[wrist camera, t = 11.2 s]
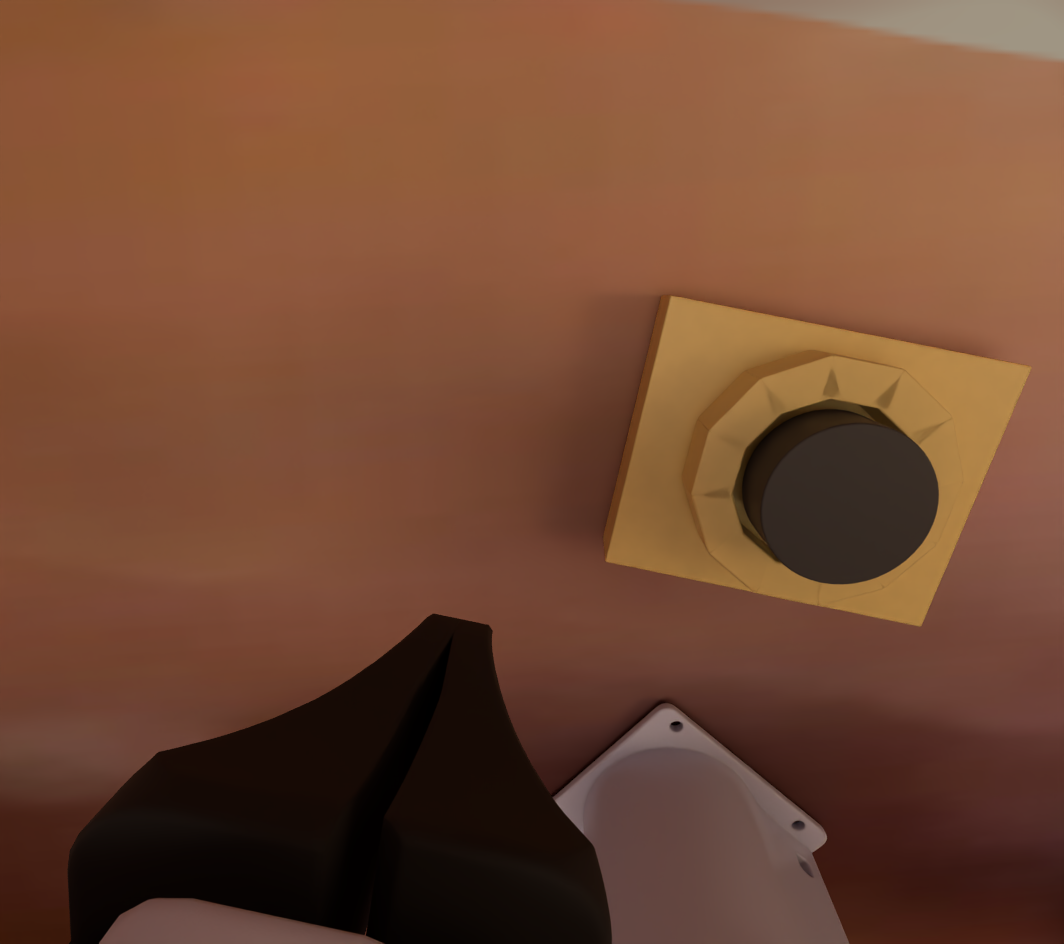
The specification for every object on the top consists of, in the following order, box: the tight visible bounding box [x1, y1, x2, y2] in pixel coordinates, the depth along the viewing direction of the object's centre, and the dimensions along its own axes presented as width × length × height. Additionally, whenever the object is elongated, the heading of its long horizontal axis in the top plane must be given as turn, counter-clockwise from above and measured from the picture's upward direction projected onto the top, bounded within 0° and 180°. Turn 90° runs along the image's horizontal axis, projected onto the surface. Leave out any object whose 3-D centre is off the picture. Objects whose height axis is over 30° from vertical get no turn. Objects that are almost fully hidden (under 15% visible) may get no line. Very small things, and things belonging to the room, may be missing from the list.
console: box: [603, 295, 1031, 626], centre depth 20 cm, size 11×9×4 cm
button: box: [742, 409, 939, 585], centre depth 17 cm, size 5×5×2 cm
